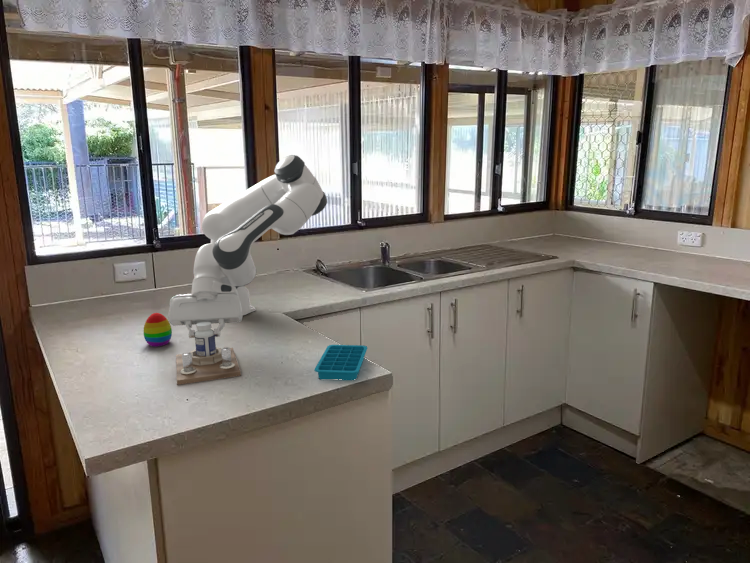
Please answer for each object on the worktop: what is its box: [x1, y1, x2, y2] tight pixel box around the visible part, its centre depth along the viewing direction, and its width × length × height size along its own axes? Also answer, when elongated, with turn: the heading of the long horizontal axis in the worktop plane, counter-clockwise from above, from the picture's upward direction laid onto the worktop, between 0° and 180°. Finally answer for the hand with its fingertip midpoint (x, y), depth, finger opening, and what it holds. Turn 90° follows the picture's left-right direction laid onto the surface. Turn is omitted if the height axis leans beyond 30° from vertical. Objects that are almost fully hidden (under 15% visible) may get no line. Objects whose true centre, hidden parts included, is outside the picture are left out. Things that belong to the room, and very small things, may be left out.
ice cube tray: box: [314, 344, 368, 381], centre depth 153 cm, size 12×20×3 cm, turn 174°
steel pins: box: [180, 347, 235, 375], centre depth 149 cm, size 4×14×5 cm, turn 110°
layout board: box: [175, 346, 242, 386], centre depth 154 cm, size 20×16×3 cm
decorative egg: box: [143, 312, 173, 348], centre depth 173 cm, size 8×8×10 cm
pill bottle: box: [194, 322, 217, 357], centre depth 156 cm, size 5×5×10 cm
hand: (204, 336), depth 155 cm, fingers closed on pill bottle, 5 cm apart
